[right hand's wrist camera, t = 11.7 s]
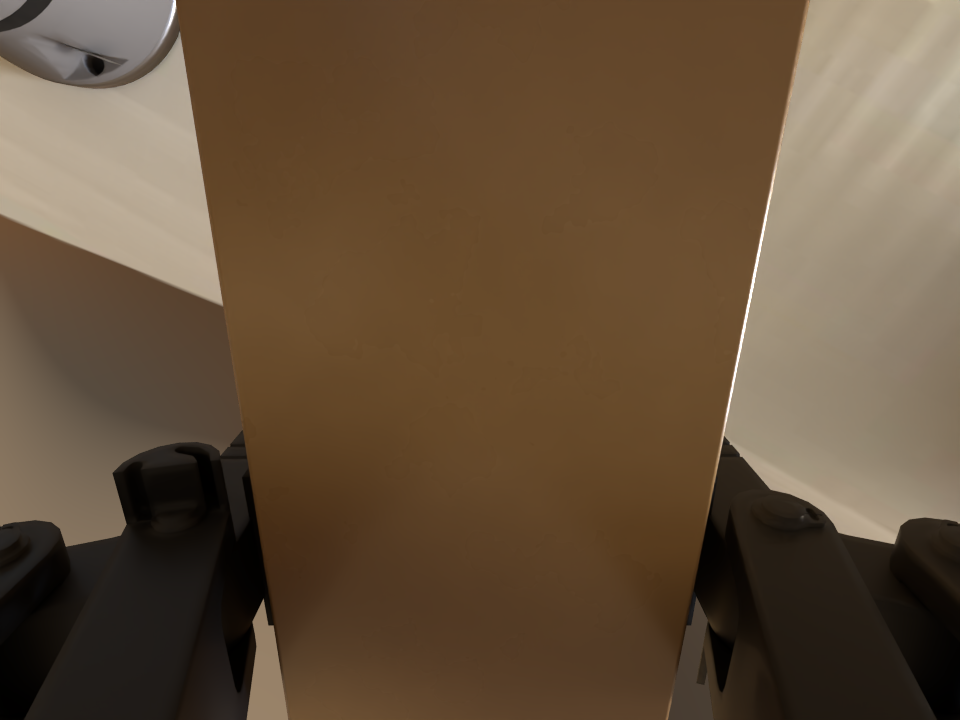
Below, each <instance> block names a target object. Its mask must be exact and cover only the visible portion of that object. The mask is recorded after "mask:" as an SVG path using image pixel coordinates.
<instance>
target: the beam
mask: <svg viewBox="0 0 960 720" xmlns="http://www.w3.org/2000/svg"><path fill="white" fill-rule="evenodd" d="M175 2H176V8H177V15H178V21H179V27H180V34H181V40H182V47H183V53H184V59H185V66H186V72H187V78H188V85H189V91H190V97H191V104H192V110H193V116H194V123H195V129H196V135H197V142H198V148H199V154H200V161H201V167H202V174H203V180H204V186H205V193H206V199H207V205H208V212H209V218H210V224H211V231H212V237H213V243H214V250H215V256H216V262H217V269H218V275H219V281H220V288H221V294H222V300H223V307H224V313H225V319H226V326H227V332H228V339H229V345H230V351H231V358H232V364H233V370H234V376H235V383H236V389H237V396H238V402H239V408H240V415H241V421H242V427H243V434H244V440H245V447H246V453H247V459H248V466H249V472H250V478H251V485H252V491H253V497H254V504H255V510H256V516H257V523H258V529H259V535H260V542H261V548H262V554H263V561H264V567H265V573H266V580H267V586H268V593H269V599H270V605H271V612H272V618H273V624H274V631H275V637H276V643H277V650H278V656H279V662H280V669H281V675H282V681H283V688H284V694H285V700H286V707H287V713H288V719H289V720H668V716H669V711H670V706H671V700H672V695H673V691H674V685H675V680H676V675H677V670H678V665H679V660H680V655H681V650H682V645H683V640H684V635H685V630H686V625H687V620H688V615H689V610H690V604H691V599H692V594H693V589H694V584H695V579H696V574H697V569H698V564H699V559H700V554H701V549H702V544H703V539H704V534H705V529H706V523H707V518H708V513H709V508H710V503H711V498H712V493H713V488H714V483H715V478H716V473H717V468H718V463H719V458H720V453H721V448H722V442H723V437H724V432H725V427H726V422H727V417H728V412H729V407H730V402H731V397H732V392H733V387H734V382H735V377H736V372H737V367H738V361H739V356H740V351H741V346H742V341H743V336H744V331H745V326H746V321H747V316H748V311H749V306H750V301H751V296H752V291H753V286H754V280H755V275H756V270H757V265H758V260H759V255H760V250H761V245H762V240H763V235H764V230H765V225H766V220H767V215H768V210H769V205H770V199H771V194H772V189H773V184H774V179H775V174H776V169H777V164H778V159H779V154H780V149H781V144H782V139H783V134H784V129H785V124H786V118H787V113H788V108H789V103H790V98H791V93H792V88H793V83H794V78H795V73H796V68H797V63H798V58H799V53H800V48H801V43H802V38H803V32H804V27H805V22H806V17H807V12H808V7H809V2H810V0H175Z"/></svg>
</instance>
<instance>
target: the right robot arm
mask: <svg viewBox="0 0 960 720" xmlns="http://www.w3.org/2000/svg"><path fill="white" fill-rule="evenodd" d="M179 32H180V27H179V21H178V15H177V8H176V2H175V0H0V56H1V57H3V58H4V59H6V60H8V61H9V62H11V63H13V64H14V65H16V66H18V67H20V68H21V69H23V70H25V71H27V72H29V73H31V74H33V75H36V76H38V77H41V78H43V79H46V80H49V81H53V82H56V83H61V84H66V85H72V86H77V87H84V88H93V89H95V88H112V87H117V86H122V85H125V84H128V83H131V82H133V81H135V80H137V79H139V78H141V77H143V76H144V75H146V74H147V73H149V72H150V71H152V70H153V69H154V68H155V67H156V66H157V65H158V64H159V63H160V62H161V61H162V60H163V59H164V58H165V57H166V55H167V54H168V52H169V51H170V49H171V48H172V46H173V44H174V43H175V41H176V39H177V37H178V34H179ZM729 443H730V442H729V441H728V440H727V439H726V438H725V436H724V437H723V442H722V448H721V453H720V458H719V463H718V468H717V473H716V478H715V483H714V488H713V493H712V498H711V503H710V508H709V513H708V518H707V523H706V529H705V534H704V539H703V544H702V549H701V554H700V559H699V564H698V569H697V574H696V579H695V584H694V589H693V594H692V599H691V604H690V610H689V615H688V620H687V625H691V623H692V617H693V612H694V606H695V601H696V596H697V598H698V600H699V602H700V604H701V607H702V609H703V611H704V613H705V615H706V617H707V619H708V623H707V628H706V633H705V639H704V643H703V649H702V654H701V659H700V664H699V669H698V676H697V683H698V684H703V685H704V683H705V679H706V674H708V681H709V688H710V696H711V703H712V711H713V718H714V720H960V524H958V523H957V522H954V521H950V520H941V519H932V518H918V519H910V520H908V521H907V522H905V523H904V524H903V525H901V527H900V530H899V533H898V536H897V539H896V542H895V544H890V543H885V542H880V541H874V540H869V539H864V538H859V537H854V536H849V535H845V534H841V533H838V532H837V530H836V528H835V526H834V524H833V523H832V522H831V520H830V519H829V518H828V517H827V516H826V515H825V513H824V512H822V511H821V510H819V509H818V508H816V507H815V506H813V505H812V504H810V503H809V502H807V501H804V500H802V499H800V498H797V497H795V496H792V495H790V494H786V493H782V492H777V491H773V490H770V489H769V488H768V486H767V485H766V484H765V483H764V482H763V481H762V479H761V478H760V477H759V476H758V475H757V474H756V472H755V471H754V470H753V469H752V468H751V467H750V465H749V464H748V463H747V462H746V461H745V460H744V458H743V457H740V454H739V453H738V452H737V450H736V449H735V448H734V447H733V446H732V445H730V444H729ZM113 476H114V480H115V484H116V487H117V491H118V494H119V498H120V502H121V505H122V509H123V512H124V516H125V520H126V523H127V525H126V527H125V529H124V531H123V533H122V535H121V536H117V537H114V538H109V539H104V540H99V541H94V542H88V543H83V544H78V545H73V546H68V547H66V546H65V543H64V540H63V537H62V534H61V531H60V529H59V528H58V527H57V526H55V525H54V524H53V523H51V522H45V521H37V520H34V521H26V522H15V523H10V524H5V525H3V526H2V527H0V720H246V719H247V712H248V705H249V697H250V690H251V682H252V675H253V668H254V660H255V653H256V640H255V633H254V628H253V623H252V621H253V619H254V617H255V615H256V613H257V611H258V609H259V607H260V605H261V602H262V600H263V598H264V602H265V608H266V614H267V620H268V625H274V624H273V618H272V612H271V605H270V599H269V593H268V586H267V580H266V573H265V567H264V561H263V554H262V548H261V542H260V535H259V529H258V523H257V516H256V510H255V504H254V497H253V491H252V485H251V478H250V472H249V466H248V459H247V453H246V447H245V440H244V434H243V430H242V431H241V432H240V434H239V435H238V436H237V437H236V438H235V439H234V441H233V442H232V443H231V446H230V447H228V448H227V449H226V450H225V451H224V452H223V454H222V455H221V456H220V453H219V450H217V449H216V448H214V447H213V446H212V445H208V444H204V443H199V442H188V443H175V444H170V445H165V446H160V447H157V448H154V449H151V450H148V451H145V452H143V453H140V454H138V455H136V456H134V457H133V458H131V459H129V460H127V461H125V462H124V463H122V464H121V465H120V466H119V467H118V468H117V469H116V470H115V471H114V472H113Z"/></svg>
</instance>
